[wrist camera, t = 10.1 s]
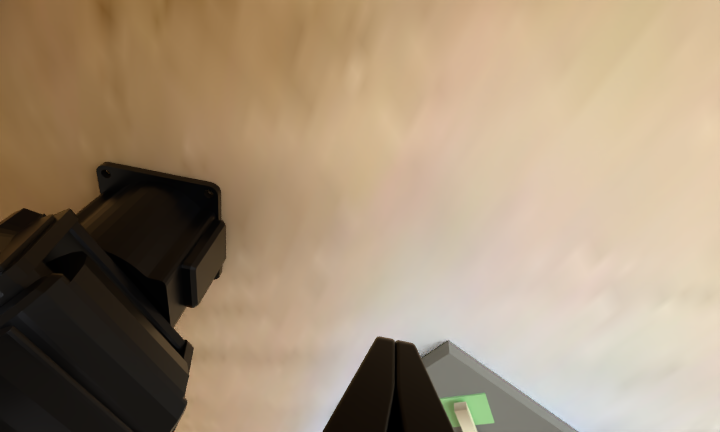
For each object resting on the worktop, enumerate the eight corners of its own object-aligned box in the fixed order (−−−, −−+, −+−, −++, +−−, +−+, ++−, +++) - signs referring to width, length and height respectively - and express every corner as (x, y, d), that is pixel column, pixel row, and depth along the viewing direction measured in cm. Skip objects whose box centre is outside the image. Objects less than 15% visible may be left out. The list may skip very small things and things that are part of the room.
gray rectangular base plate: (346, 408, 33) (344, 421, 32) (448, 340, 28) (449, 354, 27) (481, 487, 37) (482, 502, 36) (591, 441, 32) (597, 456, 31)
